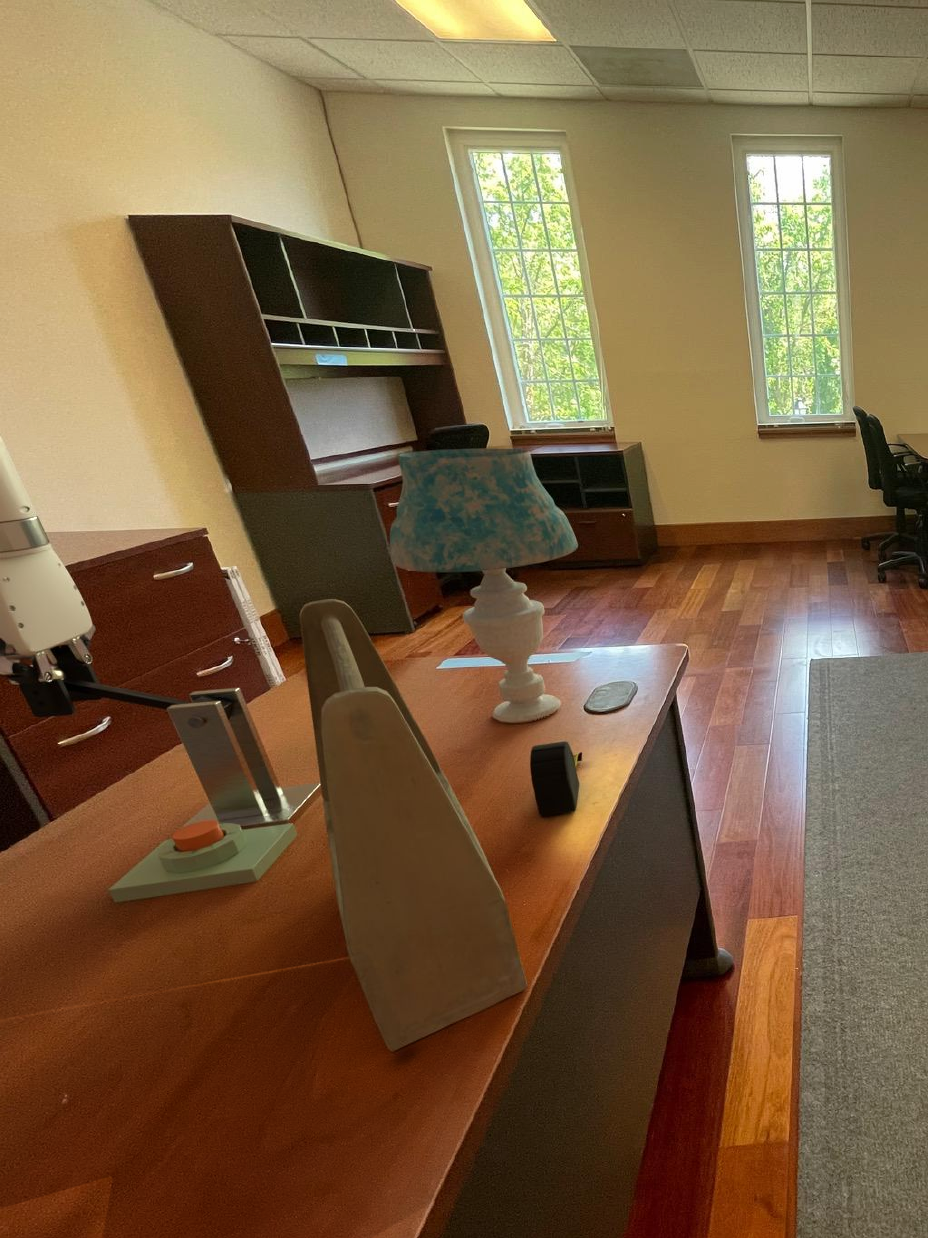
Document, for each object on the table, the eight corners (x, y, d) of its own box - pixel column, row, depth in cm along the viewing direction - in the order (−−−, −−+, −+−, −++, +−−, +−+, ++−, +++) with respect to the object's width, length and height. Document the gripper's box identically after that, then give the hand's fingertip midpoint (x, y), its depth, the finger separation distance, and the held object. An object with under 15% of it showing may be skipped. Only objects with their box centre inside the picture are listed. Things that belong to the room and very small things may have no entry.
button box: (114, 903, 72) (99, 875, 71) (171, 852, 80) (157, 826, 79) (257, 881, 76) (245, 854, 74) (298, 835, 84) (287, 809, 82)
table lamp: (456, 695, 121) (386, 448, 105) (607, 676, 130) (563, 444, 114) (426, 757, 101) (335, 463, 85) (607, 729, 110) (555, 457, 94)
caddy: (533, 989, 63) (444, 672, 51) (386, 1057, 56) (244, 713, 44) (464, 841, 83) (388, 590, 71) (350, 879, 76) (245, 609, 64)
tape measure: (576, 814, 88) (564, 757, 85) (537, 821, 87) (523, 763, 83) (583, 761, 101) (573, 709, 97) (549, 766, 99) (537, 714, 96)
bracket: (176, 843, 82) (115, 719, 76) (221, 803, 90) (169, 688, 83) (291, 827, 85) (241, 707, 79) (324, 790, 93) (282, 678, 86)
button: (170, 855, 75) (163, 841, 74) (191, 836, 78) (184, 823, 77) (212, 849, 76) (206, 836, 75) (231, 831, 79) (225, 817, 78)
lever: (5, 695, 74) (7, 666, 73) (31, 683, 77) (33, 655, 76) (215, 733, 81) (219, 707, 80) (232, 721, 84) (235, 696, 83)
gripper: (8, 525, 77) (83, 683, 84) (-150, 558, 62) (-43, 744, 69) (97, 523, 79) (163, 677, 86) (-35, 554, 64) (57, 736, 72)
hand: (70, 705), depth 78 cm, fingers closed on lever, 3 cm apart
